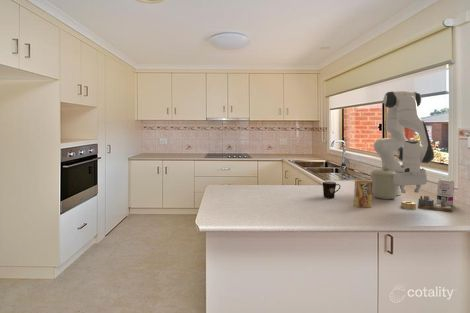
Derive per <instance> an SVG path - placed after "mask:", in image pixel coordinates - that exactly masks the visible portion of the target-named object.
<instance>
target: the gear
mask: <svg viewBox="0 0 470 313" xmlns="http://www.w3.org/2000/svg"><path fill="white" fill-rule="evenodd" d="M418 202H419V204H421V205H425V206H432V205H433V204H435V201H434V199H432V198H429V200H424V197H423V195H420V197H419V198H418Z"/></svg>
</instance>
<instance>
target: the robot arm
mask: <svg viewBox="0 0 470 313" xmlns="http://www.w3.org/2000/svg"><path fill="white" fill-rule="evenodd" d="M382 100H383V101H382V102H383V106H384V107H386V108H388V110H387V113H386V121H385V131H386V132H388V133H389V134H390V137H383V138H379V139H376V140H375V141H374V143H373V150H374V151H375V152H376V154H378V156H379V157H380V160H381V166H382V167H381V170H383V167H384V166H388V167H389V170H391V171H395V174H394V184H395V185H398V190H397V195H396V196H401V195H402V194H406V191H407V190H405V186H416V187H415V188H414V193H416V194H417V193H420V189H421V188H422V186H424V185H426V184H428V179H427V176H428V175H427V170H426V169H425V168H421V163H422V164H429V163H430V162H432V161H433V160H434V158H435V152H434V148H433V146H432V143H431V139H430V136H429V131H428V128H427V125H426V122H425V121H424V120H423V119H421V118H420V116H419V114H418V113H419V112H418V107H419V106H420V105H421V103H422V95H421V93H420V92H418V91H407V90H402V91H398V90H397V91H387V92H386V93H385V94H384V96H383V99H382ZM404 128H406V129H410V130H411V131H414V132H416V133H418V136H419V139H420V141H418V140H415V139H407V137H406V134H405V129H404ZM395 155H397V159H396V158H395ZM398 160H400V161H401V162H402V163H400V161H398ZM372 195H373V188H372Z"/></svg>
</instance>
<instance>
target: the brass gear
mask: <svg viewBox="0 0 470 313" xmlns="http://www.w3.org/2000/svg"><path fill="white" fill-rule="evenodd" d="M416 206H417V203H416V202H413V201H409V200H402V201H400V207H401V208H402V209H408V210H414V209H416Z"/></svg>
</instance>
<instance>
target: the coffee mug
mask: <svg viewBox="0 0 470 313" xmlns="http://www.w3.org/2000/svg"><path fill="white" fill-rule="evenodd" d="M337 186H339V187H338V188H337V190H336V187H337ZM340 189H341V184H339V183H337V182H336V181H328V180H326V181H322V193H323V198H324V199H331V200H332V199H335V193H337V192H338V191H339V190H340Z"/></svg>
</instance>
